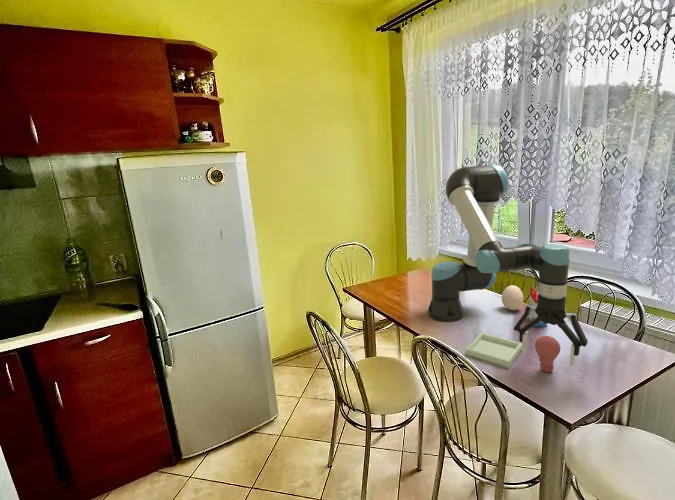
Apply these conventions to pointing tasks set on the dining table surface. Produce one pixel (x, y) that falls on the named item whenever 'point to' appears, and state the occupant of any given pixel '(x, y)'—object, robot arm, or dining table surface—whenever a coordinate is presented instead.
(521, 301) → the egg
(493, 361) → the tray
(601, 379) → the dining table surface
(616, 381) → the dining table surface
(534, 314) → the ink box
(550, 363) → the light bulb
